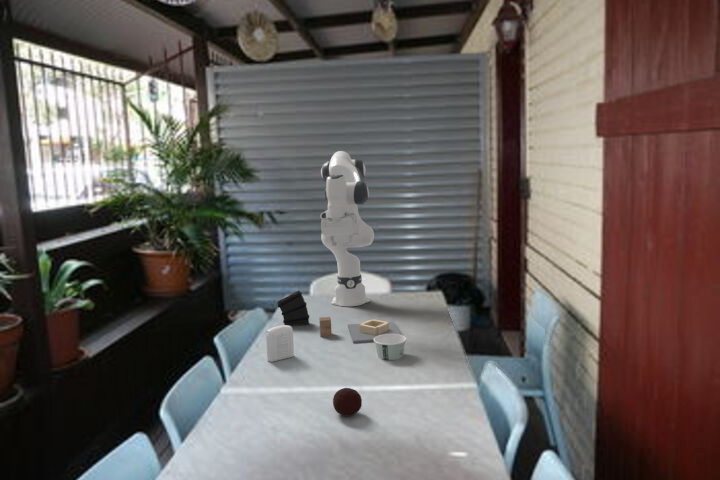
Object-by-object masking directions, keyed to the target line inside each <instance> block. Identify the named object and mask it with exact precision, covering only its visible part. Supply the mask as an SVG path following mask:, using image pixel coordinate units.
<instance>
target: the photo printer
mask: <svg viewBox="0 0 720 480" xmlns="http://www.w3.org/2000/svg"><path fill="white" fill-rule="evenodd" d="M265 332H266V333H265V338H266V339H265V341H266V357H267V361H268V362H276V361H280V360H281V361H282V360H285V359H289V358H293V357H295V353H294V352H295V350H294V348H295V347H294V330H293V326H288V325H284V324H280V325H278V326H273V327H271V328H270V329H267V331H265Z"/></svg>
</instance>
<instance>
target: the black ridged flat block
mask: <svg viewBox="0 0 720 480" xmlns="http://www.w3.org/2000/svg"><path fill="white" fill-rule="evenodd" d="M302 294H303V293H302V292H301V291H300V290H297V291H295V292H293V293H291V294H289V295H288V296H286V297H284V298H282V299H280V300H278V301H277V302H276V304H277V307H278V308H279V309H280V311H281V316H282V317H283V320H282V323H283V325H288V326H291V327H293V326H309V324H310V314H309V312H308V311H309V310H308V307H307V302H306V301H305V297H304V296H303V295H302Z"/></svg>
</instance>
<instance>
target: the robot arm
mask: <svg viewBox="0 0 720 480" xmlns="http://www.w3.org/2000/svg"><path fill="white" fill-rule="evenodd" d="M366 170H367V169H366V165H365V164H364V161H363V160H362V159H358V158H355V159H352V157H351V155H350V154H349V153H348V152H346V151H344V150H338V151H336V152H334V154H332V156H331V158H330V160H328V161H326V162H324V163H323V164H322V165H321V169H320V175H321V178H322V180H323V182H324V183H325V184H326V187H325V188H324V196H325V198H324V200H325V202H326V203H327V209H326V210H325V211H324V212H322V213H320V216H319V217H320V219H321V222H320V229H321V230H320V231H321V235H320V238H321V242H322V245H323V246H324V247H325V248H327V249H328V250H330V252H331V253H332V254H333V256H334V258H335V260H336V264H337V278H336V279H337V281H336V282H337V285H336V286H335V287H334V289H333V294H334V296H333V298H332V300H331V305H335V306H341V307H356V306H361V305H364V304H366V303H370V299H369V298H368V297H367V296H366V285H365V284H363V283H362V281H363V280H362V279H363V278H362V274H361V261H360V259H359V258H360V257H358V256H357V255H355V254H353V253H350V252H349V251H348V250H347V249H348V248H349V249H350V248H364V247H368V246H371V245H372V243H373V242H374V239H375V233H374V229H373V228H372V227H371V226H370V225H369V224H367V223H366V222H365V221H363V219H362V217H361V216H360V214H359V213H360V212H359V207H358V205H365V203H367V201H368V200H369V196H370V192H369V191H370V190H369V187H368V186H367V183H366V182H365V180H364V178H365V175H366Z"/></svg>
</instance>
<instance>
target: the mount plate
mask: <svg viewBox="0 0 720 480" xmlns="http://www.w3.org/2000/svg"><path fill="white" fill-rule="evenodd" d="M347 329H348V332H349V336H350V337H351V338H350V339H351V341H352V343H353V344H359V343H360V344H361V343H375V342H374V338H375V337H376V336H379V335H383V334H399V335H402V333H401V331H400V329H399V328H398V326H397V324H396V323H395V322H394V321H385V320H379V319H374V318H373V319H369V320H366V321H364V322H361V323H353V324H352V323H350V324H347Z"/></svg>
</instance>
